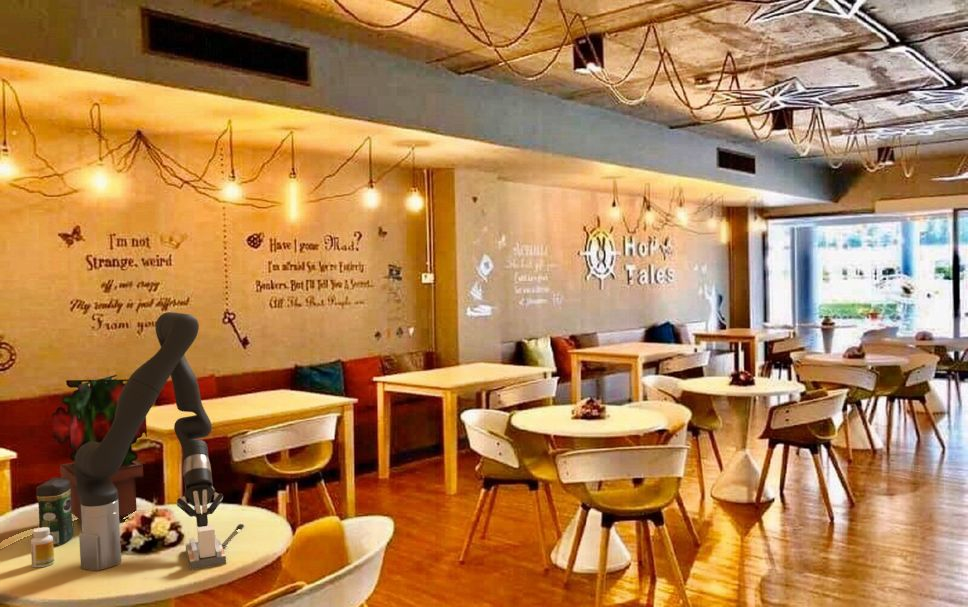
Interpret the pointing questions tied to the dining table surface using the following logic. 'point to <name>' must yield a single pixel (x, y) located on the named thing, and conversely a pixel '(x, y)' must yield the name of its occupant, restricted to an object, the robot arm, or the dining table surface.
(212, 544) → the switch tab
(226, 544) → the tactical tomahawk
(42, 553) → the supplement bottle
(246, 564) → the dining table surface
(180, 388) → the robot arm
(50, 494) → the coffee jar
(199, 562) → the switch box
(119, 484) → the potted plant
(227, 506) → the dining table surface
